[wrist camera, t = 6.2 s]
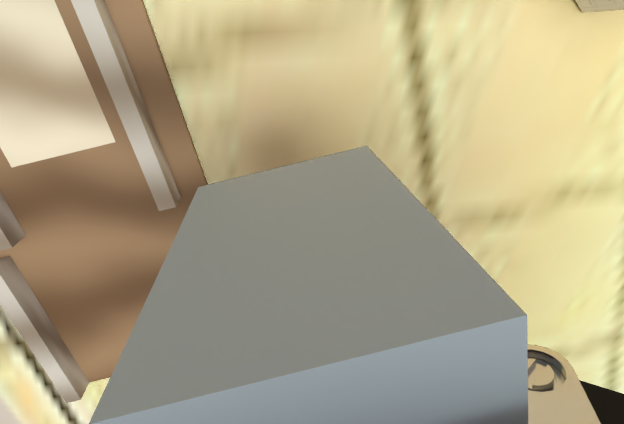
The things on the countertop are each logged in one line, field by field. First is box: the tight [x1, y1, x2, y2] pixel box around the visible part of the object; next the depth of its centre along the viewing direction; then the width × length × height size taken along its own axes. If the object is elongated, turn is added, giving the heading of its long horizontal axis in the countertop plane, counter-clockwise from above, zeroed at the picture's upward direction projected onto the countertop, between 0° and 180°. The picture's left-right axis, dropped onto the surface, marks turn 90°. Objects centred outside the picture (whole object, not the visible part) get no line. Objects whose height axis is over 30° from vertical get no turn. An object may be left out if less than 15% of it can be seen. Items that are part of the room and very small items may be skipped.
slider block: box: [89, 146, 528, 424], centre depth 10 cm, size 8×5×8 cm, turn 12°
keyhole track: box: [0, 0, 207, 403], centre depth 23 cm, size 26×14×3 cm, turn 13°
